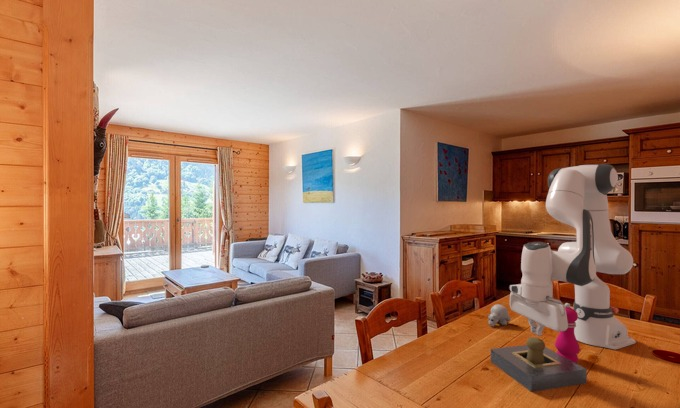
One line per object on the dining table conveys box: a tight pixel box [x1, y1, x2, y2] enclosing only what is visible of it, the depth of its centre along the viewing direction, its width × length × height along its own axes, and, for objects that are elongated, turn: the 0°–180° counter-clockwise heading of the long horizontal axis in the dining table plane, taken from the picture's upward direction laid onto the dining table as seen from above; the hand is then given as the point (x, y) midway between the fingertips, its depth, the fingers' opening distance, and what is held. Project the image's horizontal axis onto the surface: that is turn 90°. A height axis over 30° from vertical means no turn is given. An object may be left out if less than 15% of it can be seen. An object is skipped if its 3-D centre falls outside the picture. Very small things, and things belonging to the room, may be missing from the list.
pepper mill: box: [554, 302, 581, 364], centre depth 114 cm, size 7×7×20 cm
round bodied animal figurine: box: [487, 303, 511, 327], centre depth 146 cm, size 7×12×8 cm, turn 118°
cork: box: [526, 336, 546, 365], centre depth 106 cm, size 6×6×11 cm
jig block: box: [490, 344, 588, 393], centre depth 106 cm, size 20×18×5 cm
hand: (536, 333), depth 106 cm, fingers closed
